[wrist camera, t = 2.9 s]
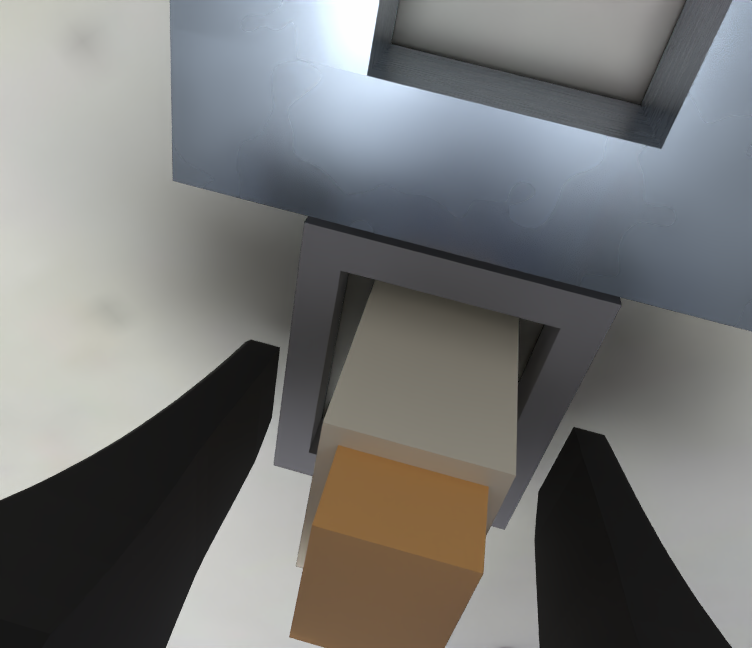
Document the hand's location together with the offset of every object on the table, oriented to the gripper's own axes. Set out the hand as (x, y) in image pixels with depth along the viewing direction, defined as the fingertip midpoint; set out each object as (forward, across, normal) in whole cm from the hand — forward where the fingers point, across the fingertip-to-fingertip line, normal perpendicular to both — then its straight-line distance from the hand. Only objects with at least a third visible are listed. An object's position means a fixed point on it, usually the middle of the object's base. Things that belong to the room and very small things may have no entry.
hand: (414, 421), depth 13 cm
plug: (+2, 0, 0) cm, 2 cm away
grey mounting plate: (+2, 0, 0) cm, 2 cm away
